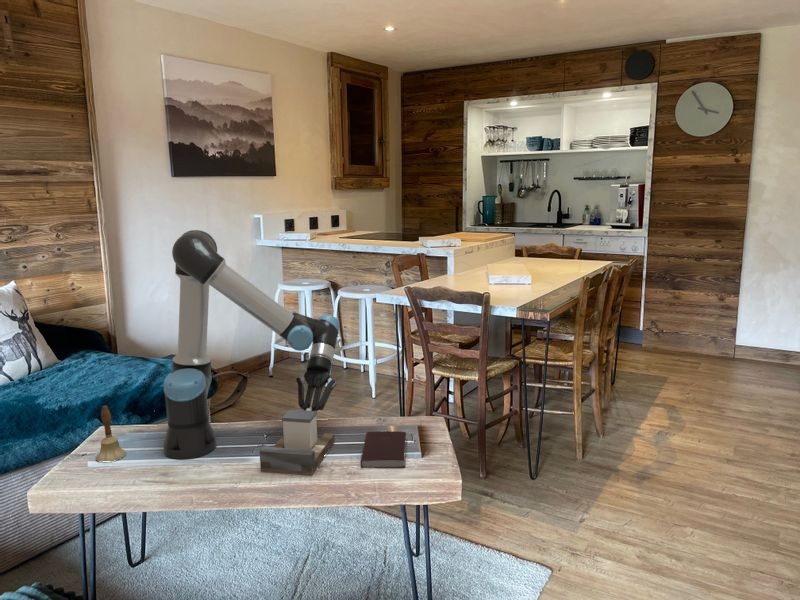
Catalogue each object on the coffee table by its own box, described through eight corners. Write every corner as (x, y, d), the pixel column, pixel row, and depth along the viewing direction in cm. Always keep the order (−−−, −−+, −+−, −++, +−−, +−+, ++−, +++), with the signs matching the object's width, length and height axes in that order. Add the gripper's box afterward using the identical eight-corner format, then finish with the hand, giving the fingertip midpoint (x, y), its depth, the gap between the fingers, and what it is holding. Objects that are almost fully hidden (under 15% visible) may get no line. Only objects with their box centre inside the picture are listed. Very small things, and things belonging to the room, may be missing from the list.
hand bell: (127, 459, 181) (121, 407, 178) (95, 465, 177) (89, 413, 174) (125, 448, 188) (120, 398, 185) (95, 453, 185) (89, 403, 181)
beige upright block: (291, 443, 186) (289, 409, 184) (318, 445, 184) (316, 411, 182) (283, 453, 180) (281, 417, 178) (311, 455, 178) (309, 419, 176)
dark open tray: (288, 439, 192) (287, 421, 191) (334, 442, 189) (333, 424, 188) (260, 471, 172) (259, 451, 171) (312, 475, 169) (311, 455, 168)
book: (360, 469, 173) (359, 459, 172) (366, 439, 192) (366, 430, 191) (404, 470, 173) (404, 459, 172) (406, 440, 192) (406, 430, 191)
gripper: (342, 366, 200) (329, 436, 187) (304, 364, 202) (288, 433, 190) (337, 355, 194) (323, 427, 181) (298, 354, 196) (281, 424, 184)
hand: (305, 430), depth 185 cm, fingers closed
